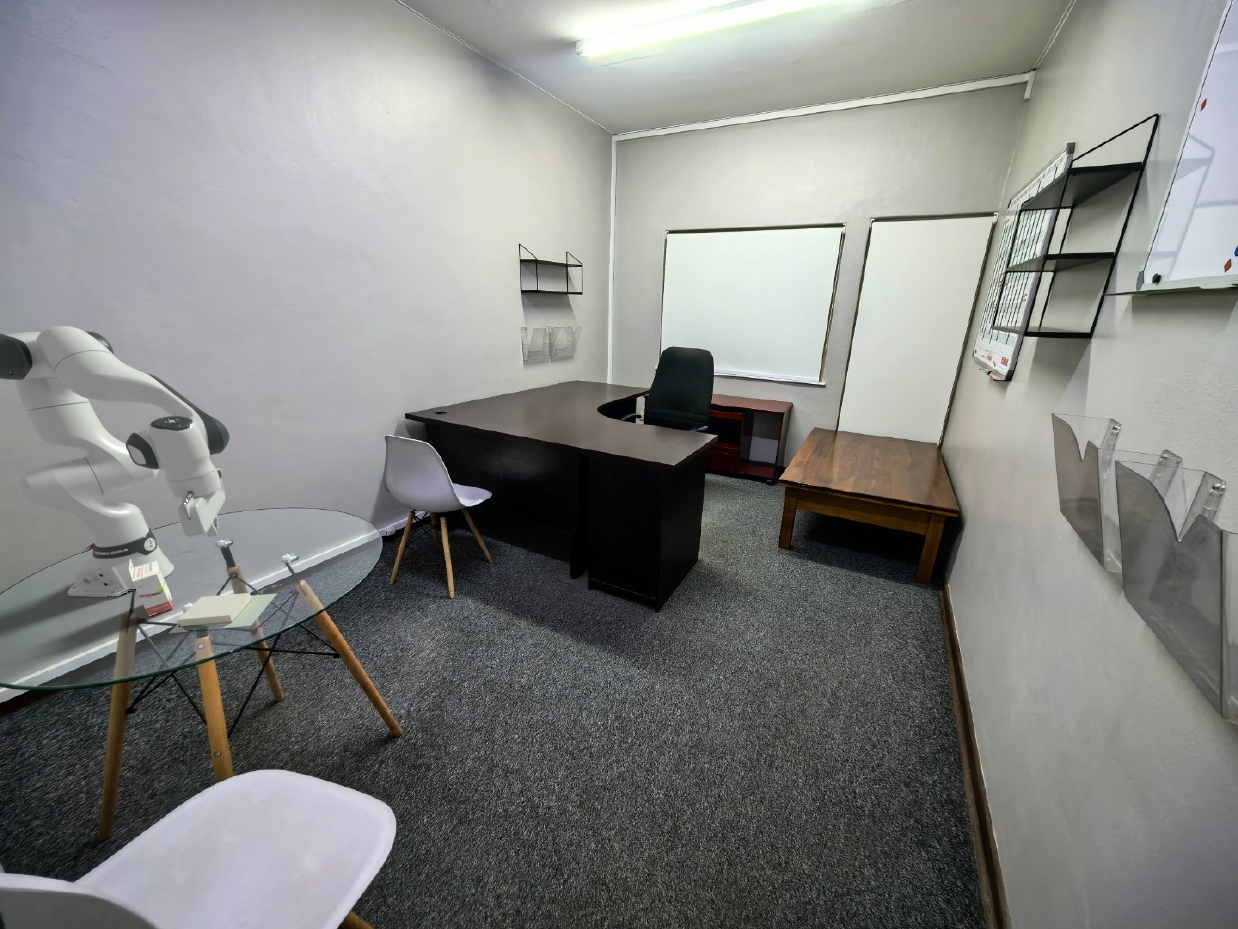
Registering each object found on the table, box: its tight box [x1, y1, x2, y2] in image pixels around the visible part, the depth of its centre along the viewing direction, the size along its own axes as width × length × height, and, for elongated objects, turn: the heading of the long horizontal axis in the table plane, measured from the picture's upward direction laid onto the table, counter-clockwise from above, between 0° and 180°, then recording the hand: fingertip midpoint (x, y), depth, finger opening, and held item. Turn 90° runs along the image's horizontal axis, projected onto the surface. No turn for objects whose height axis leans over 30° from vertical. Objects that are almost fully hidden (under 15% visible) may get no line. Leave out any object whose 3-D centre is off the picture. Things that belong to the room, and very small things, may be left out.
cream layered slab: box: [177, 592, 252, 627], centre depth 122 cm, size 2×9×12 cm
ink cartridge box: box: [129, 559, 173, 616], centre depth 122 cm, size 9×5×15 cm, turn 45°
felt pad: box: [168, 593, 278, 634], centre depth 122 cm, size 19×13×1 cm
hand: (214, 533), depth 114 cm, fingers closed
